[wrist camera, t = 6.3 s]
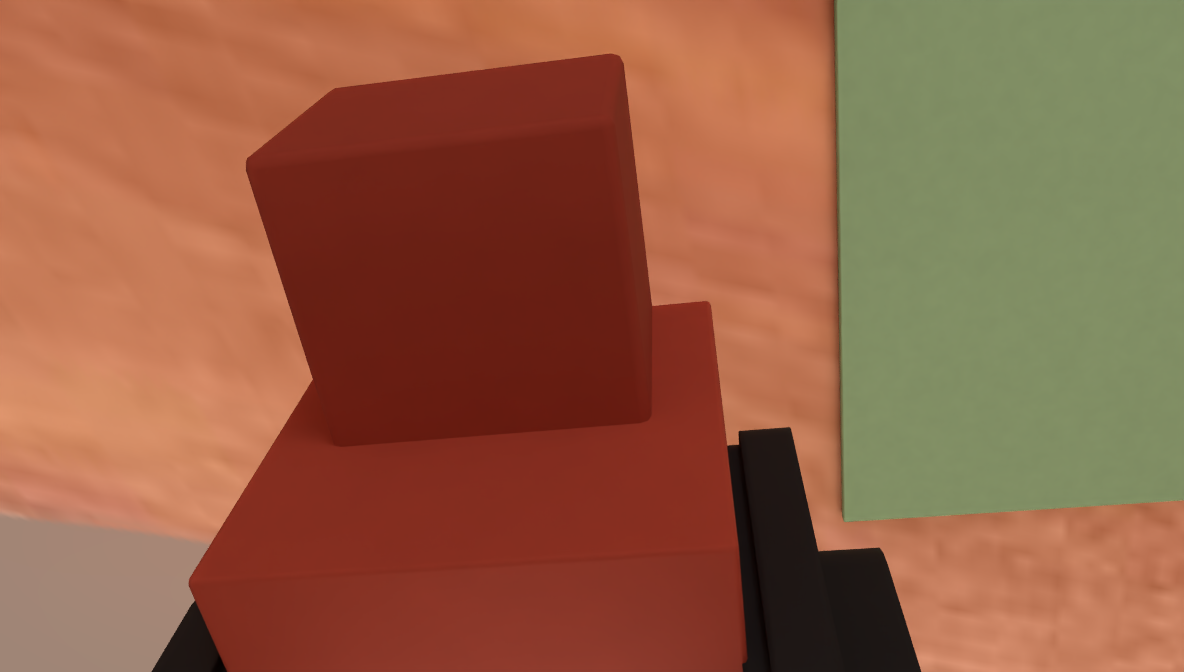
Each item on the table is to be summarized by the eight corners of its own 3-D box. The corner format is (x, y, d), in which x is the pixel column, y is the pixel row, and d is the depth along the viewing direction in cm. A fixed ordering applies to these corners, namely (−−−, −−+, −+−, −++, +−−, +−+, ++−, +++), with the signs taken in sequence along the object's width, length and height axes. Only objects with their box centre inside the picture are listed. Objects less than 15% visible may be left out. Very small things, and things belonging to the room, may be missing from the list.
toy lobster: (248, 97, 9) (5, 257, 6) (709, 38, 8) (748, 176, 5) (453, 766, 13) (388, 1075, 10) (763, 754, 13) (800, 1076, 10)
